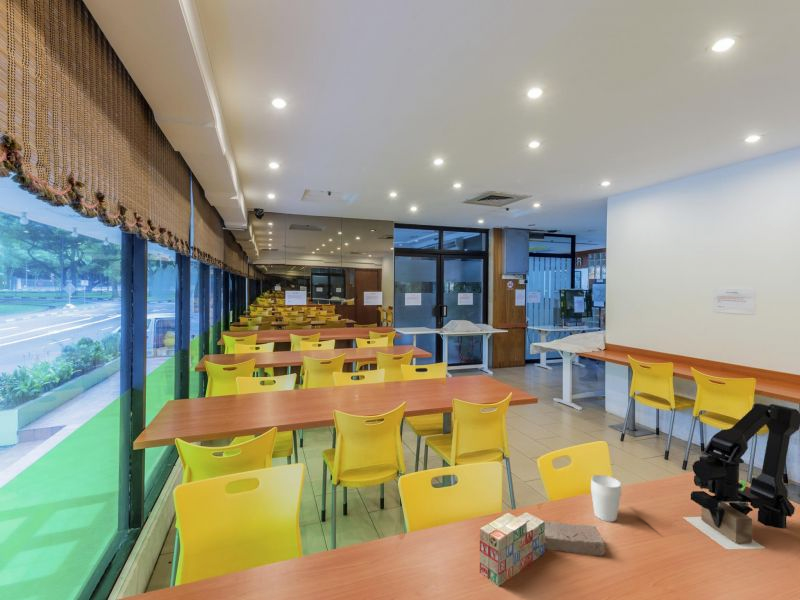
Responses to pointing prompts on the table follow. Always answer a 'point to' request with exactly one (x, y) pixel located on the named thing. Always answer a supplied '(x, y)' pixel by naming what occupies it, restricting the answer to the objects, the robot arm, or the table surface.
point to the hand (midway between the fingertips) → (725, 526)
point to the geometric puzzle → (744, 486)
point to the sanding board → (721, 535)
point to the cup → (605, 497)
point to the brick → (573, 538)
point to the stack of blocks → (510, 545)
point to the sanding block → (731, 524)
